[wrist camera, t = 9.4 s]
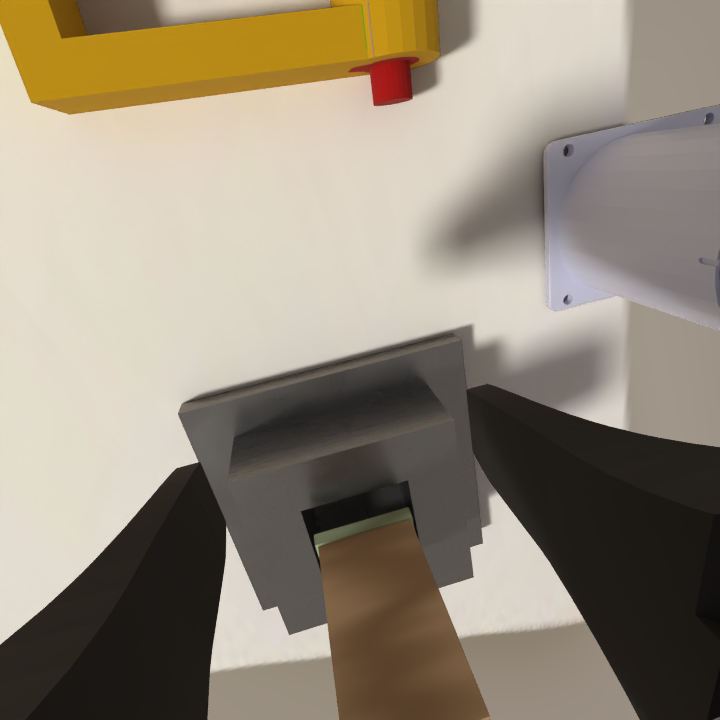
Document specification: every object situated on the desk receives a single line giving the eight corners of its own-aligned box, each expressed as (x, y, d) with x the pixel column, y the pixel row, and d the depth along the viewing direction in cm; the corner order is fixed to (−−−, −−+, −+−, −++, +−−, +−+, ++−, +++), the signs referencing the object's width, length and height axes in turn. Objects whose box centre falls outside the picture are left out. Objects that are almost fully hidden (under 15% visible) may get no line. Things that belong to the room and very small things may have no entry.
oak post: (408, 506, 19) (493, 713, 12) (421, 573, 21) (502, 789, 13) (313, 534, 18) (340, 765, 11) (335, 600, 20) (370, 837, 13)
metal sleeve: (453, 333, 22) (500, 373, 18) (476, 531, 28) (516, 601, 24) (181, 403, 21) (156, 466, 17) (263, 596, 27) (261, 682, 22)
